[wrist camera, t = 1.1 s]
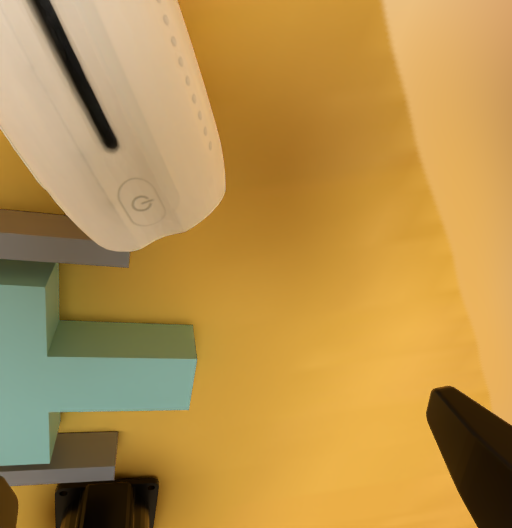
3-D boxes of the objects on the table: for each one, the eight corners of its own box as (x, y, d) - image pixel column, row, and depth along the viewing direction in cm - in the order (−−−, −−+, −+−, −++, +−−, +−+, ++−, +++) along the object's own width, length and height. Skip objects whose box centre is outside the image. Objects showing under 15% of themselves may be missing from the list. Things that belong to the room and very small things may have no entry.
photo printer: (207, 131, 20) (270, 244, 9) (118, 163, 19) (72, 318, 9) (101, -167, 14) (-56, -765, 4) (-21, -126, 14) (-559, -624, 4)
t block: (178, 417, 27) (181, 457, 25) (4, 421, 25) (-14, 466, 22) (201, 266, 23) (207, 296, 20) (-11, 251, 20) (-35, 282, 17)
